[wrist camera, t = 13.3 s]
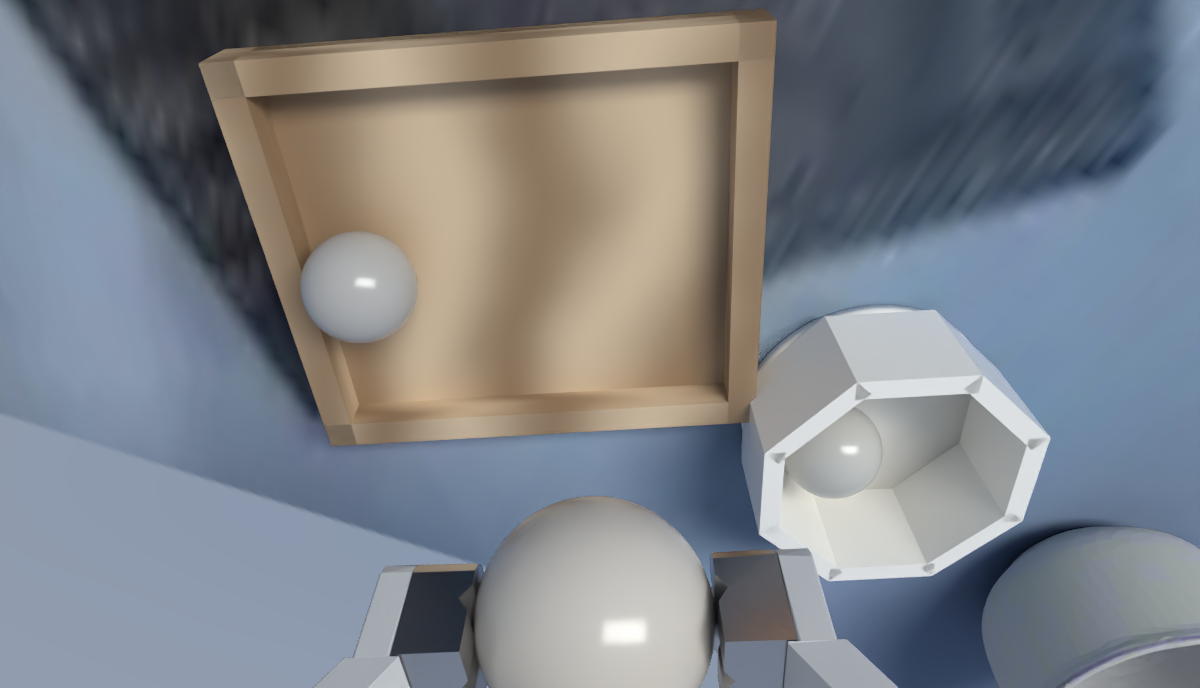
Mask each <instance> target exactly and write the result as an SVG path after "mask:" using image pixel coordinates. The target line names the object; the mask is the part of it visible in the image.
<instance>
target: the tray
mask: <svg viewBox="0 0 1200 688" xmlns="http://www.w3.org/2000/svg"><path fill="white" fill-rule="evenodd" d="M776 27H777V20H776V19H775V18H774V17H773V16H772V15H771V14H770V13H769V12H767V11H766V10H765V9H753V10H740V11H726V12H713V13H700V14H686V15H673V16H660V17H646V18H633V19H620V20H606V21H593V22H580V23H567V24H553V25H540V26H527V27H513V28H500V29H487V30H473V31H460V32H447V33H433V34H420V35H407V36H393V37H380V38H367V39H354V40H340V41H327V42H314V43H300V44H287V45H274V46H260V47H247V48H234V49H224V50H222V51H221V52H219V53H217V54H215V55H213V56H211V57H209V58H208V59H206V60H204V61H202V62H200V63H198V64H199V67H200V70H201V72H202V75H203V78H204V81H205V84H206V87H207V90H208V93H209V96H210V98H211V101H212V104H213V107H214V110H215V113H216V116H217V119H218V121H219V124H220V127H221V130H222V133H223V136H224V139H225V142H226V144H227V147H228V150H229V153H230V156H231V159H232V162H233V165H234V168H235V170H236V173H237V176H238V179H239V182H240V185H241V188H242V191H243V193H244V196H245V199H246V202H247V205H248V208H249V211H250V214H251V216H252V219H253V222H254V225H255V228H256V231H257V234H258V237H259V240H260V242H261V245H262V248H263V251H264V254H265V257H266V260H267V263H268V265H269V268H270V271H271V274H272V277H273V280H274V283H275V286H276V288H277V291H278V294H279V297H280V300H281V303H282V306H283V309H284V311H285V314H286V317H287V320H288V323H289V326H290V329H291V332H292V335H293V337H294V340H295V343H296V346H297V349H298V352H299V355H300V358H301V360H302V363H303V366H304V369H305V372H306V375H307V378H308V381H309V383H310V386H311V389H312V392H313V395H314V398H315V401H316V404H317V407H318V409H319V412H320V415H321V418H322V421H323V424H324V427H325V430H326V432H327V435H328V438H329V441H330V444H331V446H343V445H361V444H379V443H396V442H414V441H432V440H449V439H467V438H485V437H502V436H520V435H538V434H555V433H573V432H591V431H608V430H626V429H643V428H661V427H679V426H696V425H714V424H732V423H749V417H750V402H751V401H753V400H754V399H755V398H756V388H757V370H758V352H759V334H760V316H761V298H762V280H763V262H764V244H765V226H766V207H767V189H768V171H769V153H770V135H771V117H772V99H773V81H774V63H775V45H776ZM348 231H366V232H372V233H376V234H379V235H382V236H384V237H386V238H388V239H389V240H391V241H393V242H394V243H395V244H396V245H398V246H399V247H400V248H401V249H402V250H403V251H404V253H405V254H406V255H407V256H408V258H409V259H410V261H411V262H412V265H413V267H414V270H415V273H416V276H417V282H418V295H417V301H416V304H415V307H414V310H413V312H412V314H411V316H410V317H409V319H408V320H407V322H406V323H405V324H404V325H403V326H402V327H401V328H400V329H399V330H398V331H396V332H395V333H393V334H392V335H390V336H388V337H387V338H384V339H382V340H379V341H376V342H371V343H349V342H345V341H341V340H338V339H336V338H334V337H332V336H330V335H328V334H327V333H325V332H324V331H322V330H321V329H320V328H319V327H318V326H317V325H316V324H315V323H314V322H313V321H312V319H311V318H310V317H309V315H308V313H307V312H306V310H305V307H304V305H303V302H302V298H301V292H300V279H301V274H302V270H303V267H304V265H305V262H306V260H307V259H308V257H309V255H310V254H311V253H312V252H313V251H314V249H315V248H316V247H317V246H318V245H320V244H321V243H322V242H323V241H325V240H327V239H328V238H330V237H332V236H334V235H337V234H340V233H344V232H348Z"/></svg>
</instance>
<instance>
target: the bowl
mask: <svg viewBox="0 0 1200 688" xmlns="http://www.w3.org/2000/svg"><path fill="white" fill-rule="evenodd" d="M853 407H855V408H857V409H859V410H860V411H862V412H863V413H864V414H866V415H867V416H868V417H869V419H870V420H871V421H872V422H873V423H874V425H875V427H876V428H877V430H878V432H879V435H880V437H881V441H882V447H883V456H882V463H881V466H880V469H879V471H878V473H877V475H876V477H875V478H874V480H873V481H872V482H871V483H870V484H869V485H868V486H867V487H866V488H865V489H864V490H862V491H860V492H859V493H857V494H855V495H852V496H849V497H846V498H840V499H828V498H822V497H819V496H816V495H813V494H811V493H809V492H807V491H806V490H804V489H803V488H801V487H800V486H799V485H798V484H797V483H796V482H795V481H794V480H793V479H792V477H791V476H790V475H789V473H788V471H787V469H786V467H785V459H786V458H787V457H788V456H790V455H791V454H792V453H794V452H795V451H796V450H798V449H799V448H800V447H802V446H803V445H804V444H806V443H807V442H808V441H810V440H811V439H812V438H814V437H815V436H816V435H818V434H819V433H820V432H822V431H823V430H824V429H826V428H827V427H828V426H830V425H831V424H832V423H834V422H835V421H836V420H838V419H839V418H840V417H842V416H843V415H844V414H845V413H847V412H848V411H849V410H851V409H852V408H853ZM741 427H742V432H743V435H742V457H741V461H742V465H743V469H744V473H745V478H746V482H747V486H748V490H749V494H750V498H751V503H752V507H753V511H754V515H755V519H756V524H757V528H758V532H759V535H760V536H762V537H763V538H765V539H766V540H768V541H769V542H771V543H772V544H774V545H775V546H777V547H778V548H780V549H801V548H808V549H809V551H810V552H811V553H812V556H813V559H814V563H815V566H816V570H817V573H818V575H820V576H821V577H823V578H824V579H826V580H827V581H841V580H861V579H882V578H902V577H922V576H933V575H934V574H936V573H938V572H939V571H941V570H942V569H944V568H946V567H947V566H949V565H951V564H952V563H954V562H956V561H957V560H959V559H961V558H962V557H964V556H966V555H967V554H969V553H971V552H972V551H974V550H976V549H977V548H979V547H980V546H982V545H984V544H985V543H987V542H989V541H990V540H992V539H994V538H995V537H997V536H999V535H1000V534H1002V533H1004V532H1005V531H1007V530H1009V529H1010V528H1012V527H1014V526H1015V525H1017V524H1019V523H1020V522H1022V521H1023V518H1024V515H1025V512H1026V509H1027V506H1028V503H1029V500H1030V497H1031V494H1032V491H1033V488H1034V486H1035V483H1036V480H1037V477H1038V474H1039V471H1040V468H1041V465H1042V462H1043V459H1044V456H1045V453H1046V450H1047V447H1048V444H1049V441H1050V436H1049V435H1048V434H1047V433H1046V431H1045V430H1044V429H1043V427H1042V426H1041V425H1040V424H1039V422H1038V421H1037V420H1036V418H1035V417H1034V416H1033V414H1032V413H1031V412H1030V411H1029V409H1028V408H1027V407H1026V405H1025V404H1024V403H1023V402H1022V400H1021V399H1020V398H1019V396H1018V395H1017V394H1016V393H1015V391H1014V390H1013V389H1012V387H1011V386H1010V385H1009V383H1008V382H1007V381H1006V380H1005V378H1004V377H1003V376H1002V374H1001V373H1000V372H999V371H998V369H997V368H996V367H995V366H994V365H993V364H992V363H991V362H990V361H988V360H987V359H986V358H985V357H984V356H983V355H982V354H981V353H980V352H979V351H978V350H977V349H976V348H975V347H974V346H973V345H972V344H971V343H970V342H969V341H968V339H967V338H966V337H965V336H964V335H963V334H962V333H961V332H960V331H959V330H958V329H957V328H956V327H954V326H953V325H952V324H951V323H949V322H948V321H946V320H945V319H944V318H943V317H942V316H941V315H940V314H939V313H938V312H937V311H936V310H921V309H917V308H913V307H908V306H900V305H867V306H858V307H853V308H849V309H845V310H840V311H837V312H834V313H831V314H828V315H825V316H823V317H821V318H819V319H816V320H814V321H812V322H810V323H808V324H806V325H804V326H803V327H801V328H799V329H798V330H796V331H794V332H793V333H791V334H790V335H789V336H787V337H786V338H785V339H783V340H782V341H781V342H780V343H779V344H777V345H776V346H775V347H774V348H773V349H772V350H771V351H770V352H769V353H768V354H767V355H766V357H765V358H764V359H763V360H762V361H761V363H760V364H759V365H758V370H757V388H756V398H755V399H754V400H753V401H751V402H750V417H749V423H741Z"/></svg>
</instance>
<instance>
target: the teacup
mask: <svg viewBox="0 0 1200 688" xmlns="http://www.w3.org/2000/svg"><path fill="white" fill-rule="evenodd" d="M982 636H983V643H984V647H985V651H986V655H987V658H988V660H989V663H990V666H991V669H992V672H993V674H994V677H995V679H996V681H997V684H998V686H999V688H1200V549H1199V548H1197V547H1196V546H1194V545H1193V544H1191V543H1189V542H1187V541H1185V540H1183V539H1181V538H1178V537H1176V536H1173V535H1170V534H1167V533H1164V532H1160V531H1157V530H1152V529H1146V528H1140V527H1123V526H1118V527H1086V528H1080V529H1075V530H1070V531H1066V532H1063V533H1060V534H1057V535H1054V536H1051V537H1049V538H1047V539H1045V540H1043V541H1041V542H1039V543H1037V544H1036V545H1034V546H1032V547H1031V548H1029V549H1028V550H1026V551H1025V552H1024V553H1022V554H1021V555H1020V556H1019V557H1018V558H1017V559H1016V560H1015V561H1014V562H1013V563H1012V564H1011V565H1010V566H1009V568H1008V569H1007V570H1006V571H1005V572H1004V573H1003V574H1002V576H1001V577H1000V578H999V579H998V580H997V582H996V583H995V585H994V586H993V587H992V589H991V591H990V593H989V595H988V598H987V601H986V603H985V606H984V610H983V616H982Z"/></svg>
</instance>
